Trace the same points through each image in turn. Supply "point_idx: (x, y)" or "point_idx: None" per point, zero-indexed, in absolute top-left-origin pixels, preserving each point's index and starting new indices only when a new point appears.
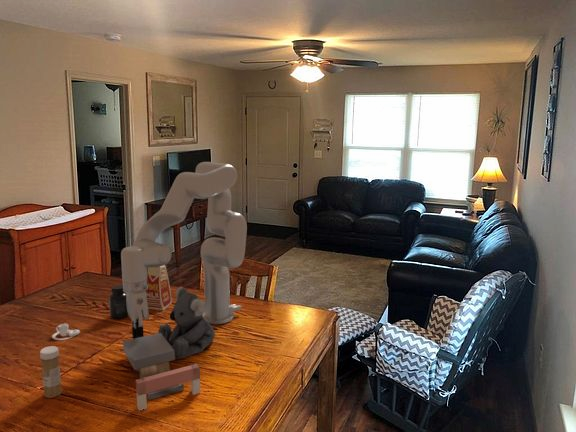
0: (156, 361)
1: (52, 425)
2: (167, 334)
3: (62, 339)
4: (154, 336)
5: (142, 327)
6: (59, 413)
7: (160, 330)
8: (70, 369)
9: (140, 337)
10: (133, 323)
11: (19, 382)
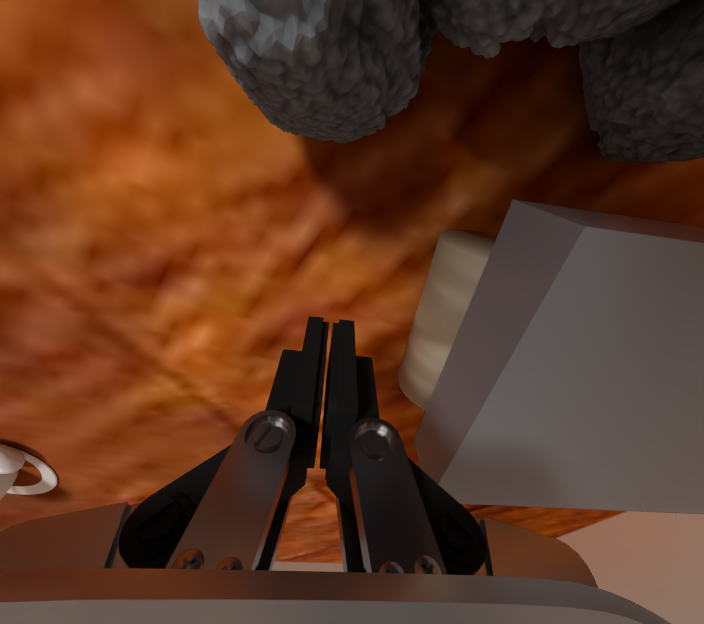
0: None
1: (552, 536)
2: (411, 15)
3: (54, 479)
4: (590, 329)
5: (356, 405)
6: (524, 527)
7: (320, 92)
8: (324, 492)
9: (478, 422)
10: (285, 512)
11: (319, 550)
